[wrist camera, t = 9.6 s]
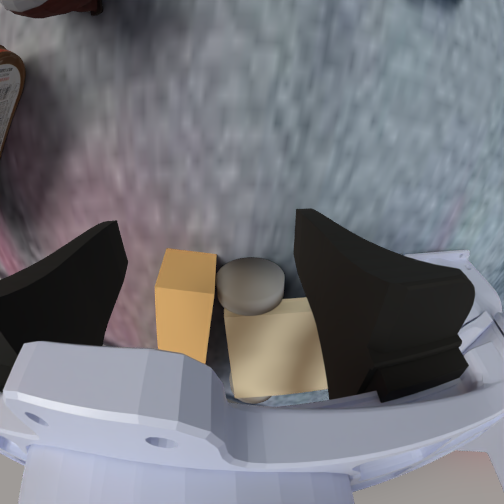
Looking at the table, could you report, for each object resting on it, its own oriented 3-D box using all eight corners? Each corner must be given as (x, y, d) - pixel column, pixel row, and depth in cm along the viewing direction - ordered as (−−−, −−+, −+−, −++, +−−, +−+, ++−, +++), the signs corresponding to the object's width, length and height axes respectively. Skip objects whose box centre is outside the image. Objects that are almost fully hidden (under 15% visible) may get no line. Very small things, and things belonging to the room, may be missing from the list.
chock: (216, 252, 23) (214, 294, 19) (202, 367, 32) (200, 404, 27) (167, 246, 23) (154, 286, 18) (168, 363, 31) (163, 399, 27)
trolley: (389, 249, 24) (415, 284, 20) (355, 354, 32) (367, 387, 28) (216, 259, 23) (214, 302, 19) (230, 367, 31) (231, 404, 27)
